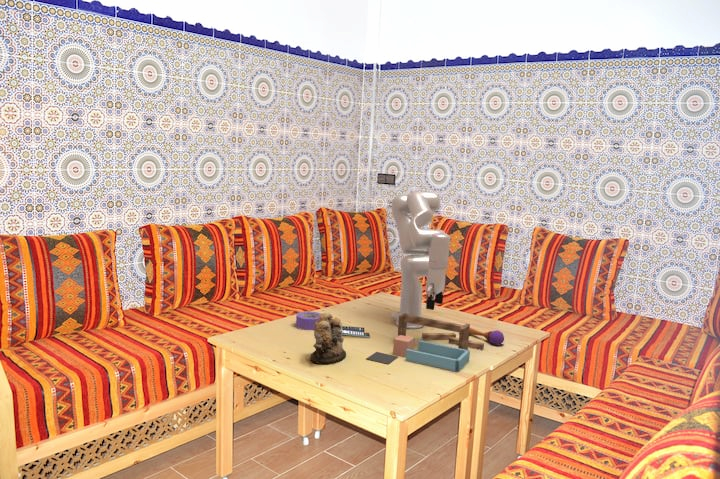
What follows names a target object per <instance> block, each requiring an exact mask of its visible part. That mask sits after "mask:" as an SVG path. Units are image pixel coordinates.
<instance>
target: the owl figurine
mask: <svg viewBox="0 0 720 479" xmlns="http://www.w3.org/2000/svg"><path fill="white" fill-rule="evenodd" d="M343 329H344V328H343V324H342V321H341V319H340V318H338V317H337V318H336V317H334V318H333V314H332V313H331V312H324V313H321V315H320V316H319V318H318V321H316V323H315V328H314V330H313V331H314V332H313V336H314V339H315V343H314V344H313V345H312V346H313V348H314V349H315V350H314V351H313V352H311V354H310V356H309V360H310V362H312V363H316V364H319V365H325V366H328V365H329V366H330V365H334V364H337V363H340V362H342V361H343V360H344V359H345V358H346V356H347V352H346V350H345V349H344V348H343V342H344V337H343Z"/></svg>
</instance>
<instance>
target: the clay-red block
mask: <svg viewBox="0 0 720 479" xmlns="http://www.w3.org/2000/svg"><path fill="white" fill-rule="evenodd" d="M414 347H415V337H413V336H412V337H411V336H407V335H406V336H403V335H399V336H398V335H397V336H396V337H395V338H393V346H392V355H394V356H401V357H404V358H406V350H407V349H410V350H415V348H414Z"/></svg>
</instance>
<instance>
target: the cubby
mask: <svg viewBox="0 0 720 479" xmlns="http://www.w3.org/2000/svg"><path fill="white" fill-rule="evenodd" d="M417 341H418V344H417V345H418V346H417V350H415V349H414V350H410V349H407V350H406V357H405V361H408V362H410V363H411V362H412V363H416V364H421V365H425V366H430V367H435V368H439V369H443V370H447V371H452V372H458V373H459V372H460V371H461V370H462V369H463V367H465V366H466V365H467V364H468V363H469V362H470V356H471V355H470V354H471V351H470V350H469V349H468V350H465V349H460V348H458V347H453V346H449V345H444V344H439V343H435V342H430V341H427V340H421V339H420V340H417Z"/></svg>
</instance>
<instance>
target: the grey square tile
mask: <svg viewBox="0 0 720 479" xmlns="http://www.w3.org/2000/svg"><path fill="white" fill-rule="evenodd" d="M398 358H399V355H394V354H389V353H383V352H379V351H376V352H374V353H372V354H371V355H369V356H368V357H366V358H365V360H367V361H371V362H377V363H380V364H384V365H390V364H391V363H392V362H394V361H395V360H397V359H398Z"/></svg>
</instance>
